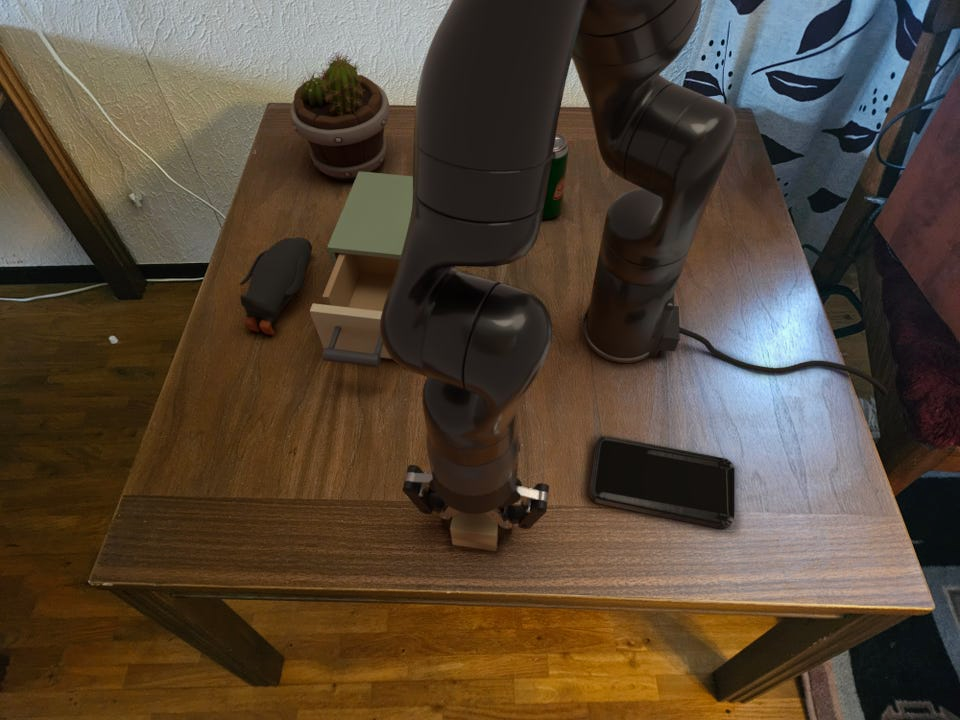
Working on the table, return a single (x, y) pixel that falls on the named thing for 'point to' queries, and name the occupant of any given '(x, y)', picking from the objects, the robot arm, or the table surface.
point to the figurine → (274, 281)
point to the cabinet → (374, 217)
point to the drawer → (354, 309)
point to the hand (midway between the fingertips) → (477, 525)
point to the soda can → (556, 178)
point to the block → (474, 531)
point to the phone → (663, 482)
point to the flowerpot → (342, 120)
